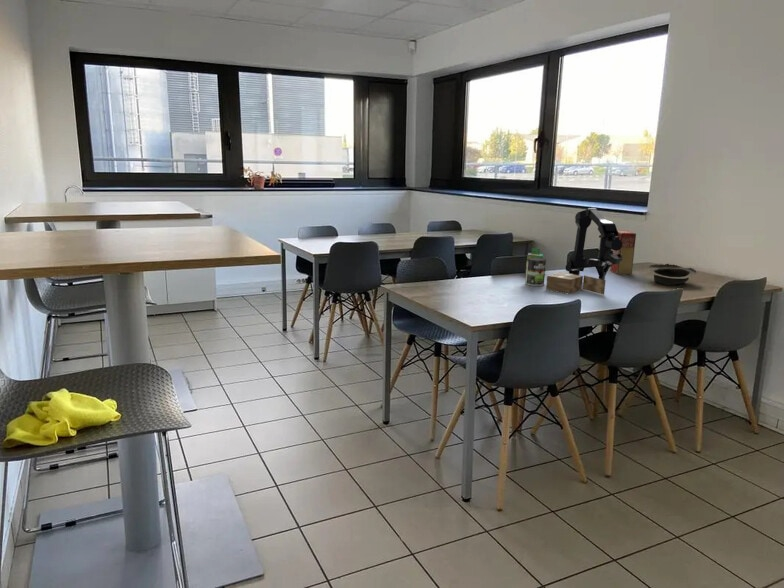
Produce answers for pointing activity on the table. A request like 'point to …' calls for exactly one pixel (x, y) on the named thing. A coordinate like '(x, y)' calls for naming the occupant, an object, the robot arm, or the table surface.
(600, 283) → the side flap
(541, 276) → the coffee can
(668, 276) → the stone bowl
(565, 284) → the carton
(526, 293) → the table surface
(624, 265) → the food packaging
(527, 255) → the chalk box
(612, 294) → the table surface
